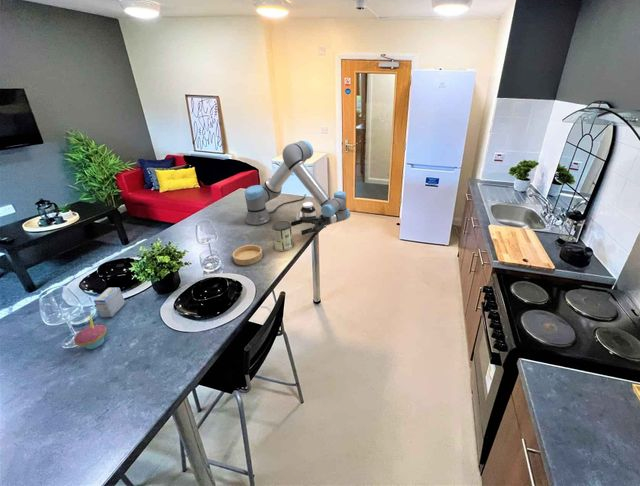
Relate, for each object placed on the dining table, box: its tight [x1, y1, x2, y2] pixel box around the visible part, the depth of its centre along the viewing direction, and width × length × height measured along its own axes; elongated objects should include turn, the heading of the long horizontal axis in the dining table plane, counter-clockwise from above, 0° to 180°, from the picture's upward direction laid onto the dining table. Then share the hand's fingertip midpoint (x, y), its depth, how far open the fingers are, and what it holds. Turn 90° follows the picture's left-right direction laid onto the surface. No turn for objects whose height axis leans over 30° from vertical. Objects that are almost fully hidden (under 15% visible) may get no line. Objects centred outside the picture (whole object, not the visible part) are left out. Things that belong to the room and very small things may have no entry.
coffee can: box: [271, 220, 294, 252], centre depth 163 cm, size 10×10×14 cm
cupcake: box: [73, 314, 108, 350], centre depth 101 cm, size 9×8×12 cm
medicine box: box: [93, 287, 126, 318], centre depth 116 cm, size 8×4×9 cm, turn 5°
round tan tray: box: [231, 244, 263, 266], centre depth 155 cm, size 15×15×4 cm
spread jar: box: [295, 201, 317, 220], centre depth 196 cm, size 12×11×12 cm
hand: (296, 228), depth 167 cm, fingers open, 13 cm apart
